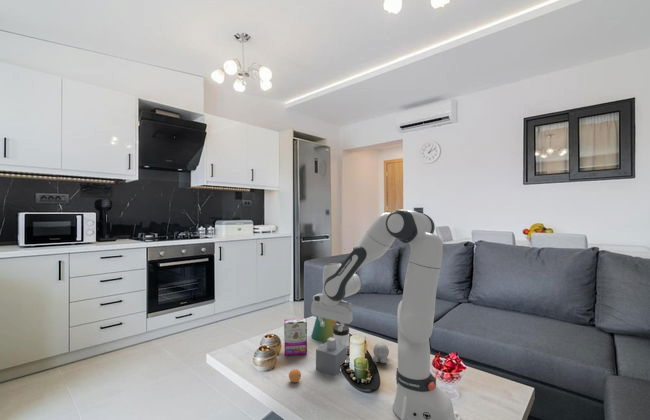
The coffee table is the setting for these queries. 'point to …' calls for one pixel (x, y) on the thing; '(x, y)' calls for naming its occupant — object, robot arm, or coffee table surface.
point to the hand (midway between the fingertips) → (331, 328)
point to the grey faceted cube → (330, 356)
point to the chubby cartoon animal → (380, 353)
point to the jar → (341, 335)
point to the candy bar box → (295, 337)
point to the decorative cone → (323, 330)
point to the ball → (294, 375)
